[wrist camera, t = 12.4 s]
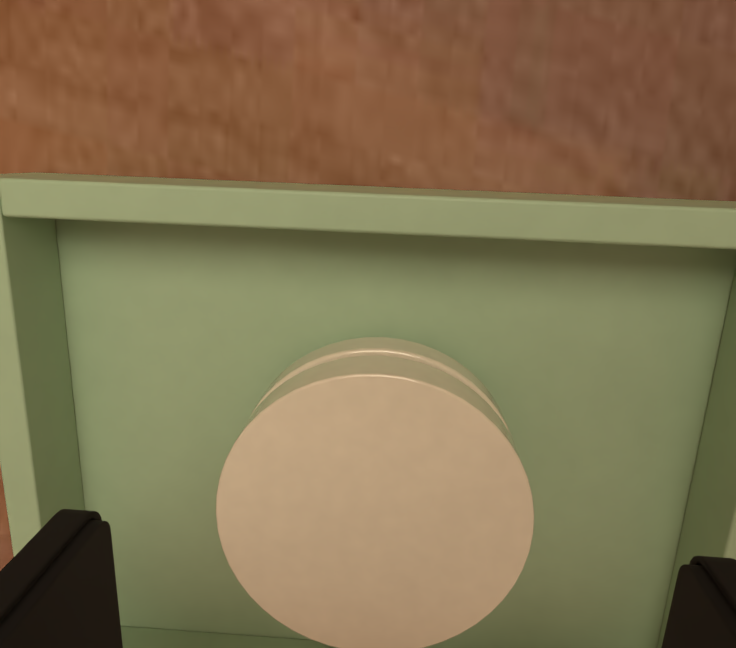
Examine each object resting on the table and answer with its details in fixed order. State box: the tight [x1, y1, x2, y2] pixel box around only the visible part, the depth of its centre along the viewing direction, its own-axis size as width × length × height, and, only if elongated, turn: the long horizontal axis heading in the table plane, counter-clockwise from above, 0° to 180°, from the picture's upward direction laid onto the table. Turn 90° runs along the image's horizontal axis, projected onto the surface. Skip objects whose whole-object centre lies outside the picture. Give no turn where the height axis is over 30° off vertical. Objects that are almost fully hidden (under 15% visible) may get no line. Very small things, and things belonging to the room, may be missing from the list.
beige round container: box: [216, 337, 534, 648], centre depth 14 cm, size 7×7×3 cm
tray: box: [0, 172, 736, 648], centre depth 15 cm, size 18×14×3 cm
